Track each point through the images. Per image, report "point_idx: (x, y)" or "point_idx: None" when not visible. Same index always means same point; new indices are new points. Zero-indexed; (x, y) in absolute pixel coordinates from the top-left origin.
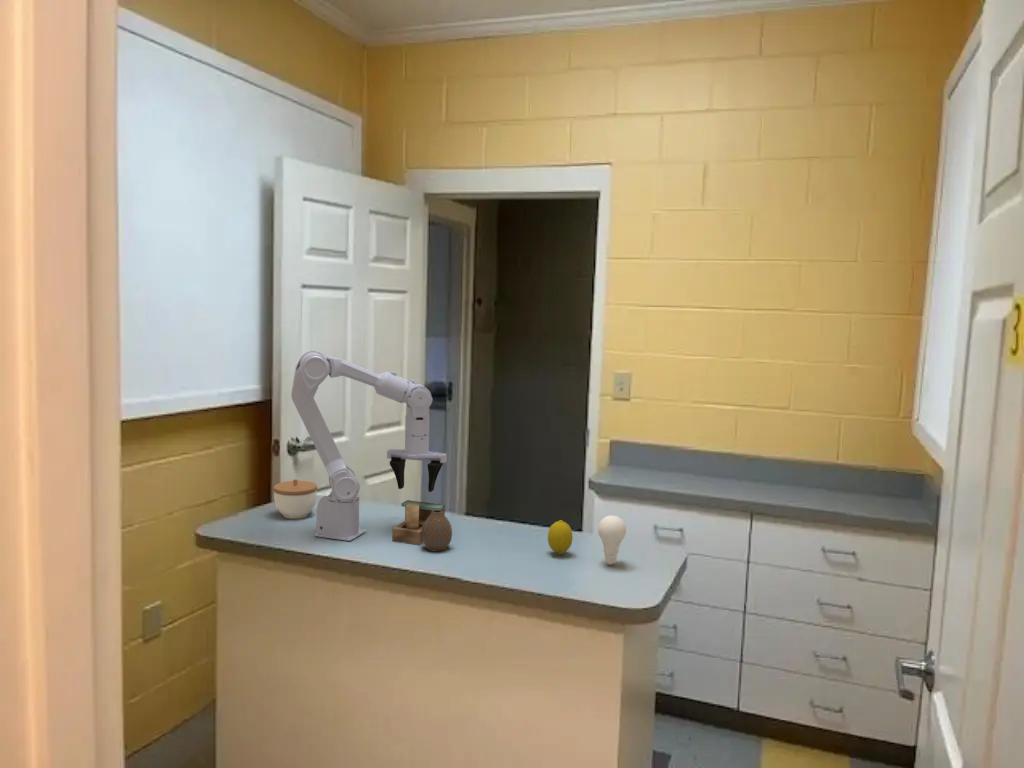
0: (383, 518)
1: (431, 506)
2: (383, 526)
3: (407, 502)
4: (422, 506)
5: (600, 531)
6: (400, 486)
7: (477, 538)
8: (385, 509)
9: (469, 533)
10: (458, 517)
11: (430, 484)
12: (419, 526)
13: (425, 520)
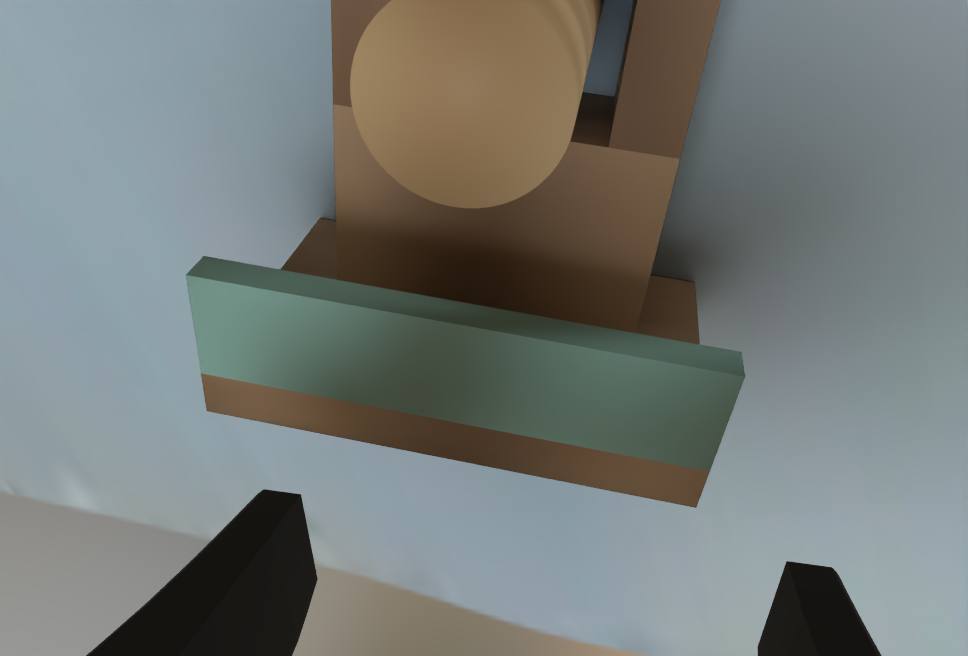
0: (947, 482)
1: (313, 328)
2: (926, 290)
3: (668, 428)
4: (425, 317)
5: None
6: (802, 596)
7: (5, 155)
8: (949, 652)
9: (127, 259)
10: (365, 552)
11: (201, 576)
12: None
13: (446, 262)
